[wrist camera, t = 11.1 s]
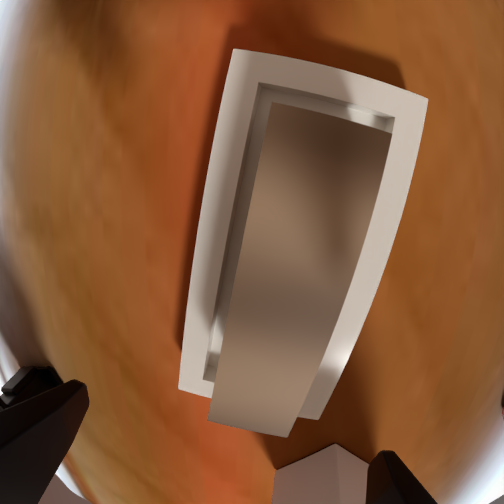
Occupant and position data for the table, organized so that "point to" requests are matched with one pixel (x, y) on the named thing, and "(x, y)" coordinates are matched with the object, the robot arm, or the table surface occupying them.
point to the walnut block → (295, 263)
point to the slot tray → (241, 187)
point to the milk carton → (322, 479)
